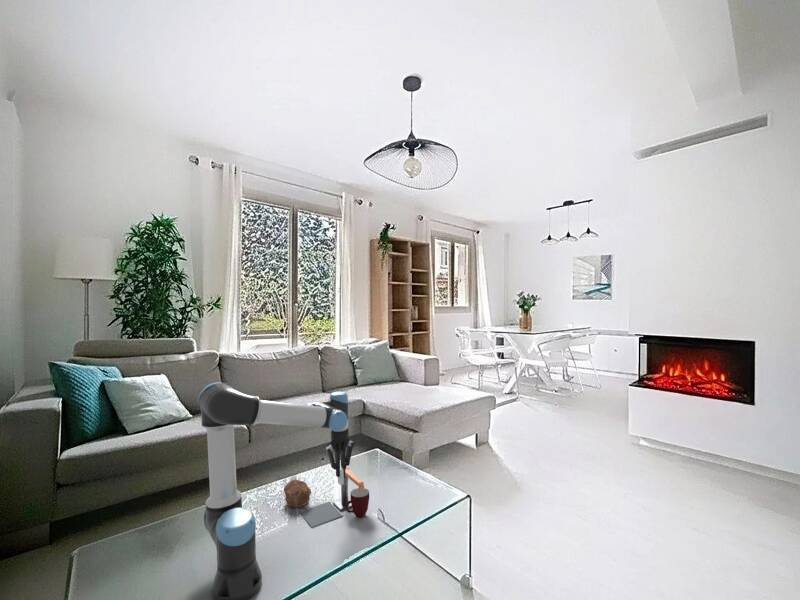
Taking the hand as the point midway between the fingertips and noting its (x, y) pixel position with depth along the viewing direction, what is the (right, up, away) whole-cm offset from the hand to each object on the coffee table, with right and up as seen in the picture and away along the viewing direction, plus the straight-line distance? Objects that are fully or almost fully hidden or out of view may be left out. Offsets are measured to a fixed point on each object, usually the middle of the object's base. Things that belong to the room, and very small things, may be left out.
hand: (340, 483), depth 165 cm
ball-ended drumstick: (+4, -1, +4) cm, 6 cm away
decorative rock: (-22, -15, +12) cm, 29 cm away
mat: (-9, -15, +2) cm, 17 cm away
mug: (+7, -15, 0) cm, 16 cm away
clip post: (0, -14, +10) cm, 18 cm away
